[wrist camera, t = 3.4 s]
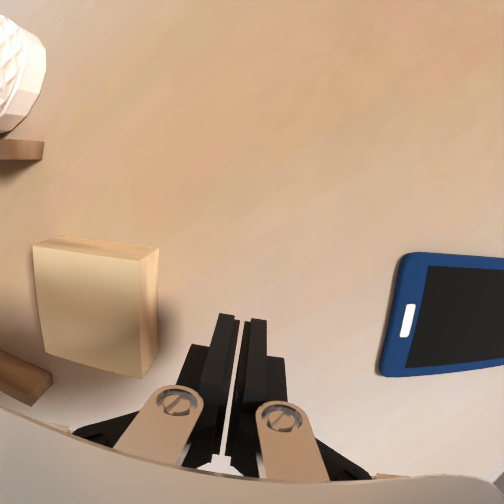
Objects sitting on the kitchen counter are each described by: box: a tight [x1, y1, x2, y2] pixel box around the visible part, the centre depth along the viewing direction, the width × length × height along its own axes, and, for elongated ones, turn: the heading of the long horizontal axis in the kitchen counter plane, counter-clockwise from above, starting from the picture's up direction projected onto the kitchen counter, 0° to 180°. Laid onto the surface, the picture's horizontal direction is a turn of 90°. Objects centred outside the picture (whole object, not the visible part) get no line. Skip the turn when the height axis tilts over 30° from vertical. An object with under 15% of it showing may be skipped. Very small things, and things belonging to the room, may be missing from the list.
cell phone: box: [379, 252, 504, 377], centre depth 16 cm, size 7×14×1 cm, turn 87°
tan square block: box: [32, 236, 159, 379], centre depth 15 cm, size 6×6×3 cm
